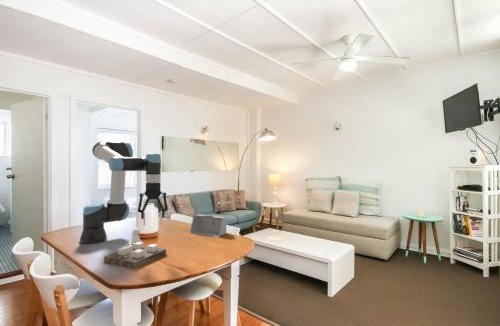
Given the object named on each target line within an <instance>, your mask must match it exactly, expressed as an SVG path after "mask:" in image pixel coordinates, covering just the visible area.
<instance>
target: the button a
mask: <svg viewBox="0 0 500 326" xmlns="http://www.w3.org/2000/svg"><path fill="white" fill-rule="evenodd" d="M117 252H118V255H122V256H123V255H127V254H129V253H130V248H129V247H127V246H122V247H119V248H117Z"/></svg>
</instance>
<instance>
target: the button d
mask: <svg viewBox="0 0 500 326" xmlns="http://www.w3.org/2000/svg"><path fill="white" fill-rule="evenodd" d="M146 246H147V252H152V253H153V252H155V251H158V248H159V245H158V244H156V243H151V244H148V245H146Z"/></svg>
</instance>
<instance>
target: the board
mask: <svg viewBox="0 0 500 326" xmlns="http://www.w3.org/2000/svg"><path fill="white" fill-rule="evenodd" d="M147 246H148V245H144V248H143V249H140V250H144V256H143V257H141V258H139V259H138V258H133V257H132V251H135V249H133V247H130V253H129V254H127V255H123V256H122V255H118V251H117V252H114V253H110V254H108V255H105V256H104V257H103V261H104V262H103V263H104V264H110V265H114V266H119V267H123V268H127V269H133V270H134V269H137V268H139V267H142V266H144V265H146V264H148V263H151V262H153V261H155V260H158V259H159V258H162V257H163V256H164V257H165V256H166V255H167V249H166V248H161V247H158V251H155V252H153V253H152V252H147Z"/></svg>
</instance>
